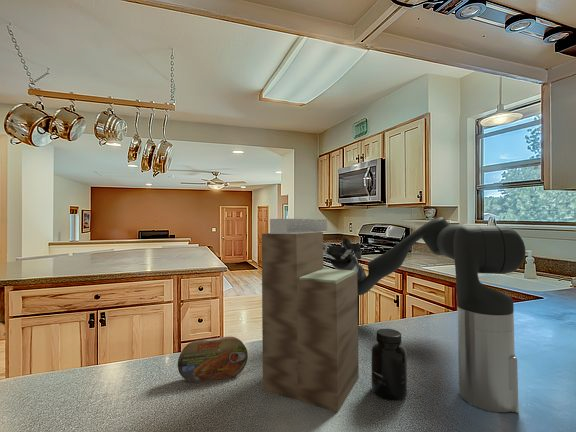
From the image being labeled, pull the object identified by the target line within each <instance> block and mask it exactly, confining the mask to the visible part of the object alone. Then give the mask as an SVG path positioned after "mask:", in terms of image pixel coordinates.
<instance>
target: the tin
mask: <svg viewBox="0 0 576 432" xmlns="http://www.w3.org/2000/svg"><path fill="white" fill-rule="evenodd" d="M248 354H249V353H248V349H247V346H246V345H245V344H244V342H243V341H242V340H241V339H239V338H238V337H235V336H223V337H216V338H215V337H214V338H208V339H207V338H206V339H198V340H194V341H191V342H189V343H188V344H186V346H184V347H183V349H182V350H181V352H180V354H179V357H178V359H177V370H178V373H179V374H180V376H181V377H182V378H183V379H184V380H185V381H187V382H189V383H201V382H202V383H203V382H207V381H213V380H214V381H215V380H221V379H228V378H232V377H235V376H237V375H239V374H240V373H241V372H243V370H244V369H245V368H246V365H247V363H248V360H249V359H248V358H249V355H248Z"/></svg>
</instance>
